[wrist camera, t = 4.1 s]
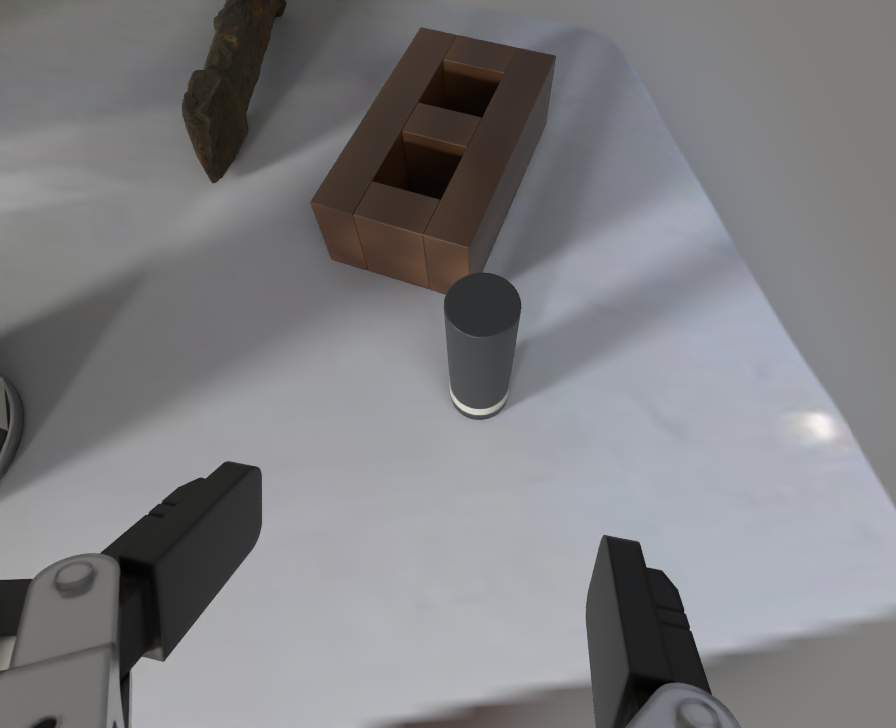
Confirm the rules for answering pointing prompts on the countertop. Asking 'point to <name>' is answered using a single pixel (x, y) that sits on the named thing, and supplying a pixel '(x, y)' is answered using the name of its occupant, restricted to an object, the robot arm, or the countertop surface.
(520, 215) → the countertop surface
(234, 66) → the hand tool
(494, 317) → the dark grey cylinder
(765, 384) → the countertop surface
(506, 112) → the holder
